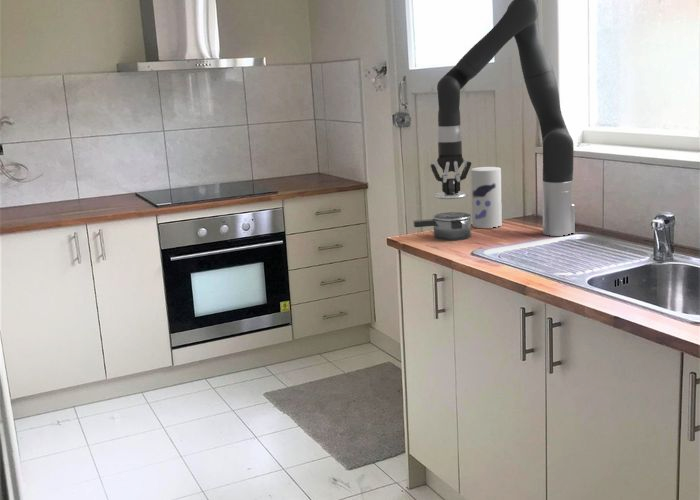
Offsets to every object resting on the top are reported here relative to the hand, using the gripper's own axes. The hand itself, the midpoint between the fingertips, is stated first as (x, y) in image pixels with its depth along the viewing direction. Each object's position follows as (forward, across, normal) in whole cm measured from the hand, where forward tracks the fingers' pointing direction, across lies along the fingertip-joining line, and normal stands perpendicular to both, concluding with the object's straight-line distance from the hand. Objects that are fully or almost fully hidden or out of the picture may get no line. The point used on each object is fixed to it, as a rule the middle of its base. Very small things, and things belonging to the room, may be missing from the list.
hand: (451, 193), depth 253 cm
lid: (+1, 0, 0) cm, 1 cm away
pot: (+15, +3, +1) cm, 15 cm away
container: (+15, -15, -13) cm, 25 cm away
